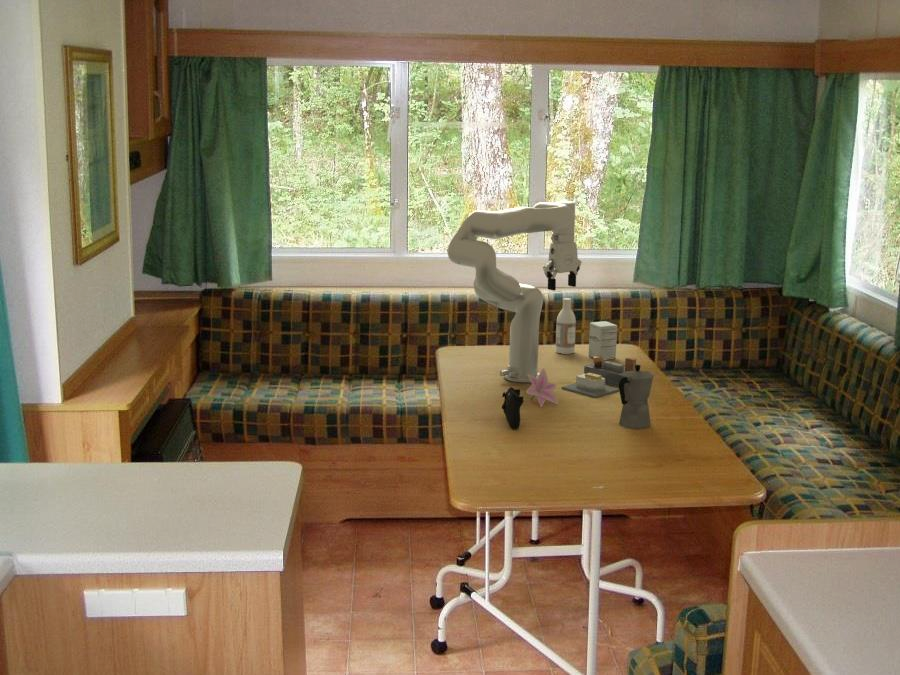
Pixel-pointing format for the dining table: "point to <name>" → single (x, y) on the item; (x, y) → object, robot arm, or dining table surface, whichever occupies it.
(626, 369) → the plane body
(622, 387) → the coffeepot
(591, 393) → the mat
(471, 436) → the dining table surface
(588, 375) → the lever cap
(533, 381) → the lily
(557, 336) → the bath foam
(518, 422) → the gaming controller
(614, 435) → the dining table surface
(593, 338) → the supplement box
